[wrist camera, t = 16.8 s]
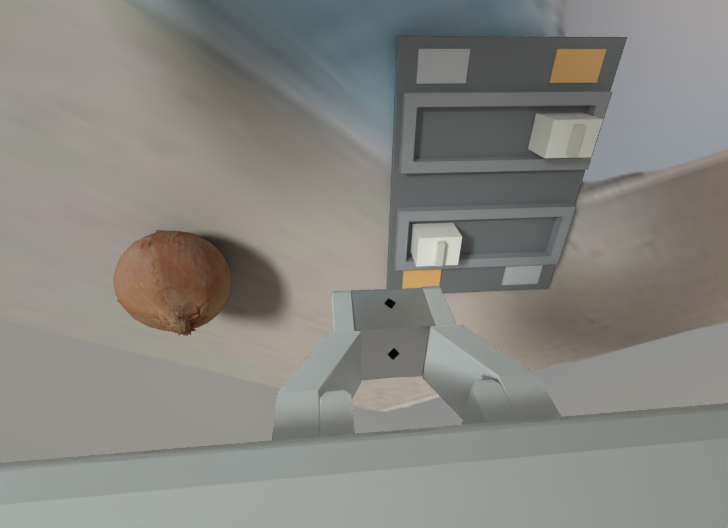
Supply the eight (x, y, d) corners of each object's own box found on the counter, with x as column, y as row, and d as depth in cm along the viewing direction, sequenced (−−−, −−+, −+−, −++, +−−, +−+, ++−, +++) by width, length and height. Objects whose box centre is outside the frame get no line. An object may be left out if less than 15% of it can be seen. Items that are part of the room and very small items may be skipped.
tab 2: (536, 112, 32) (558, 121, 29) (581, 112, 32) (607, 120, 29) (527, 148, 33) (548, 160, 30) (571, 148, 34) (595, 159, 31)
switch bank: (397, 36, 29) (401, 36, 27) (617, 37, 30) (635, 37, 29) (386, 289, 42) (389, 301, 40) (542, 282, 43) (552, 293, 41)
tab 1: (412, 223, 36) (420, 241, 33) (453, 222, 37) (464, 239, 34) (410, 251, 38) (417, 270, 35) (449, 249, 38) (459, 268, 35)
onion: (231, 260, 42) (247, 338, 36) (139, 281, 39) (141, 369, 34) (209, 196, 34) (225, 282, 29) (93, 217, 32) (86, 316, 26)
